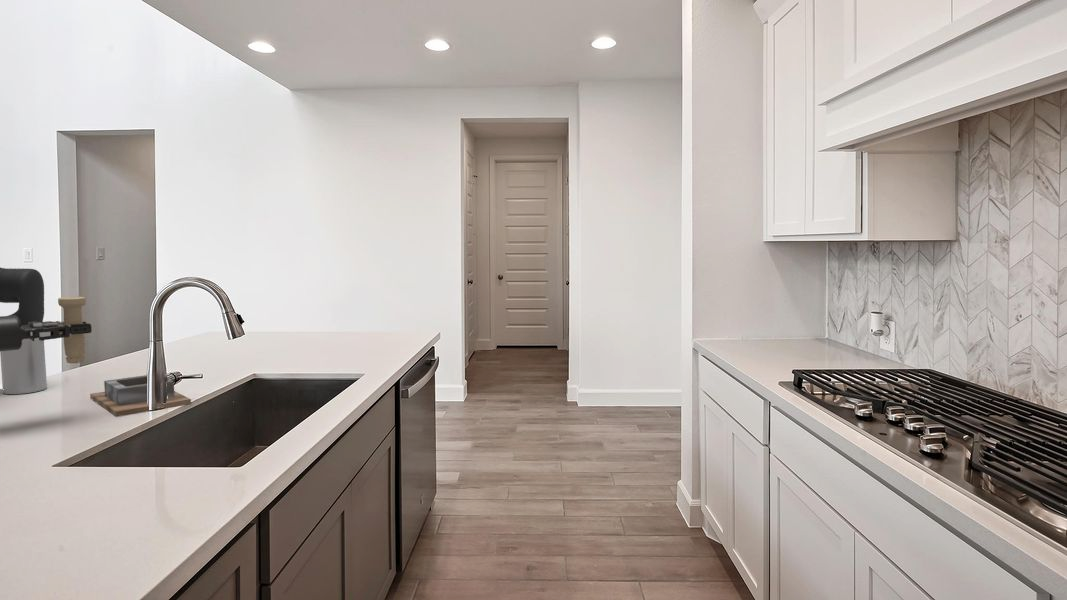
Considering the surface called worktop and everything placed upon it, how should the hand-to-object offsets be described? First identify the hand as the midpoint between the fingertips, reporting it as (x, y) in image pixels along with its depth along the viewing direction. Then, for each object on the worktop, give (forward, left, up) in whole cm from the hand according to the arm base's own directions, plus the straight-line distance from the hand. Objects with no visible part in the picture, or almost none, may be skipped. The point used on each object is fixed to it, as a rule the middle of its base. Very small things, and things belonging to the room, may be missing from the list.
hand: (88, 327), depth 141 cm
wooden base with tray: (-6, +11, -21) cm, 24 cm away
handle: (0, -3, -8) cm, 9 cm away
